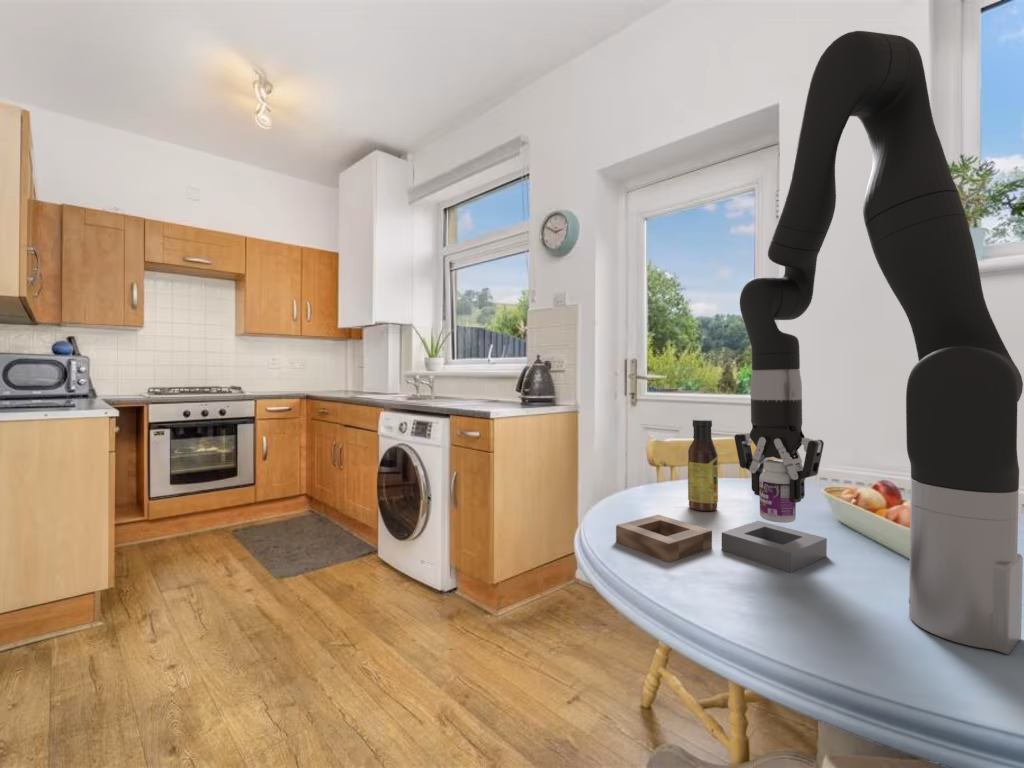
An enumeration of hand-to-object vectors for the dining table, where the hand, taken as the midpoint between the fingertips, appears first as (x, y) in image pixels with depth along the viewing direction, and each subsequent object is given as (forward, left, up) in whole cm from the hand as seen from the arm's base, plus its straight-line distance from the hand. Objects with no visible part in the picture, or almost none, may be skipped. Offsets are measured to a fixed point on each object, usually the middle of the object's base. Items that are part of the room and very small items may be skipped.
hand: (777, 497), depth 81 cm
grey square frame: (0, 0, -9) cm, 9 cm away
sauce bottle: (+23, -14, -10) cm, 29 cm away
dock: (+13, +12, -9) cm, 21 cm away
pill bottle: (0, 0, -4) cm, 4 cm away
